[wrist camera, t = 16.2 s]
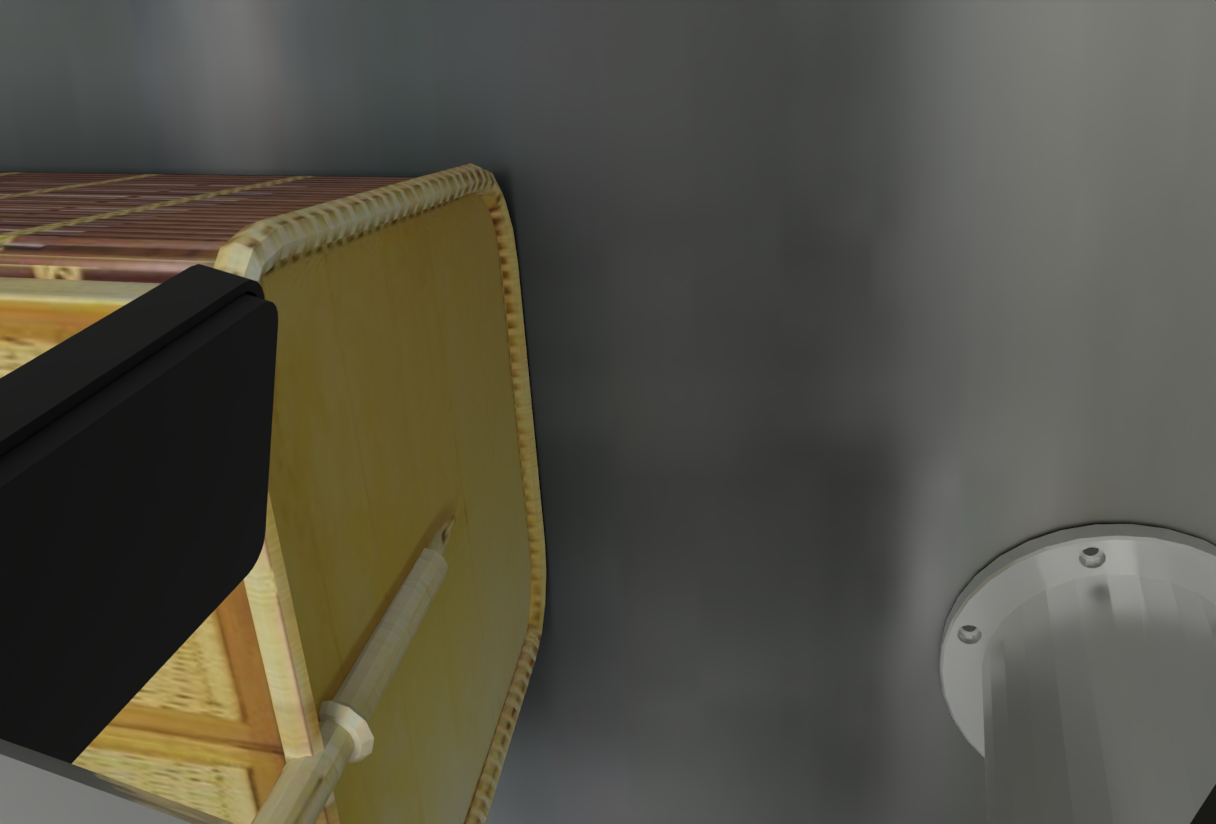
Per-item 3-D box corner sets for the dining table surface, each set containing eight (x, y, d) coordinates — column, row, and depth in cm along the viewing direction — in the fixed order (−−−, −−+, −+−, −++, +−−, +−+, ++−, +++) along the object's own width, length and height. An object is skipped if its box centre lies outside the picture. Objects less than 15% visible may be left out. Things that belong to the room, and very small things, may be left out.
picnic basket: (46, 603, 59) (-670, 1223, 33) (-126, 78, 47) (-1431, 394, 21) (606, 672, 51) (252, 1546, 25) (562, 69, 40) (-163, 537, 14)
